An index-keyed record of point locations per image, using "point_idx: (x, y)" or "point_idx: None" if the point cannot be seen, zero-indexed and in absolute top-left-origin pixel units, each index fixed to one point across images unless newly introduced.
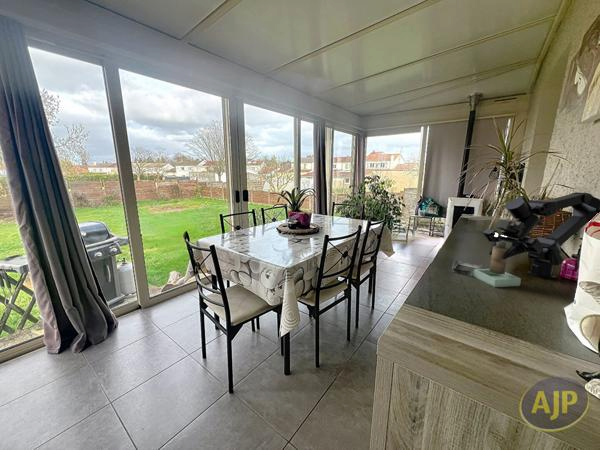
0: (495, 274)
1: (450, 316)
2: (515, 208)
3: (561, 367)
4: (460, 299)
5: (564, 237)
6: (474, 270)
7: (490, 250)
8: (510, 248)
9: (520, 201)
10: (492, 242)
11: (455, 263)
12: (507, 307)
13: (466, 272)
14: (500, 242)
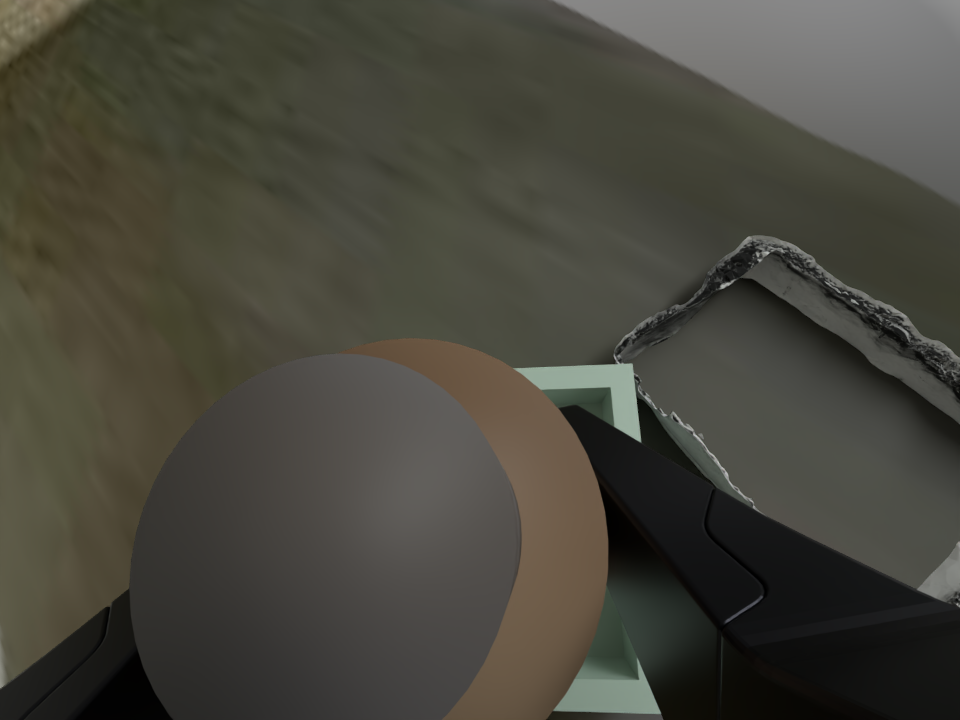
0: (622, 644)
1: None
2: None
3: None
4: (261, 71)
5: None
6: (620, 366)
7: (605, 431)
8: (86, 660)
9: None
10: (843, 570)
11: (957, 374)
12: (117, 251)
13: (658, 331)
14: (343, 527)
